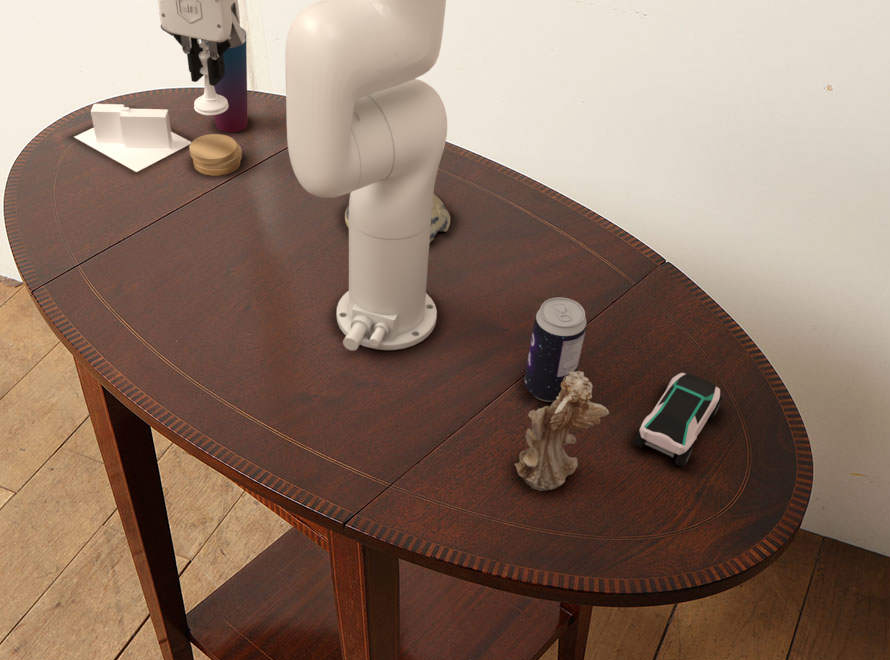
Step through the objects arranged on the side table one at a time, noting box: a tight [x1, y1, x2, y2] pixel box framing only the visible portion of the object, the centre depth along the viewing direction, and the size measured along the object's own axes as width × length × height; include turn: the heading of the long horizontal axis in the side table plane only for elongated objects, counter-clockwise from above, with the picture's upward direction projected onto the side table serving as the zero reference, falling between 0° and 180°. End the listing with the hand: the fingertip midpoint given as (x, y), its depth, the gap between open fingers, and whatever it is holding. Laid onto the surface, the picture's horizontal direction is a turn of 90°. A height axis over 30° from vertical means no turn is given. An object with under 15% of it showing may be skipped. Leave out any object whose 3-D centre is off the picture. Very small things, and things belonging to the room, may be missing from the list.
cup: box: [200, 27, 249, 134], centre depth 152 cm, size 7×7×15 cm
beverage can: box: [523, 296, 588, 403], centre depth 112 cm, size 6×6×12 cm
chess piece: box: [193, 40, 229, 116], centre depth 139 cm, size 5×5×10 cm
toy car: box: [633, 372, 723, 468], centre depth 110 cm, size 6×12×5 cm, turn 146°
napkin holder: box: [74, 103, 192, 173], centre depth 151 cm, size 15×11×6 cm
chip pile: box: [188, 133, 243, 177], centre depth 148 cm, size 8×8×3 cm
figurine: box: [513, 370, 610, 492], centre depth 101 cm, size 7×6×15 cm
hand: (207, 78), depth 139 cm, fingers closed on chess piece
